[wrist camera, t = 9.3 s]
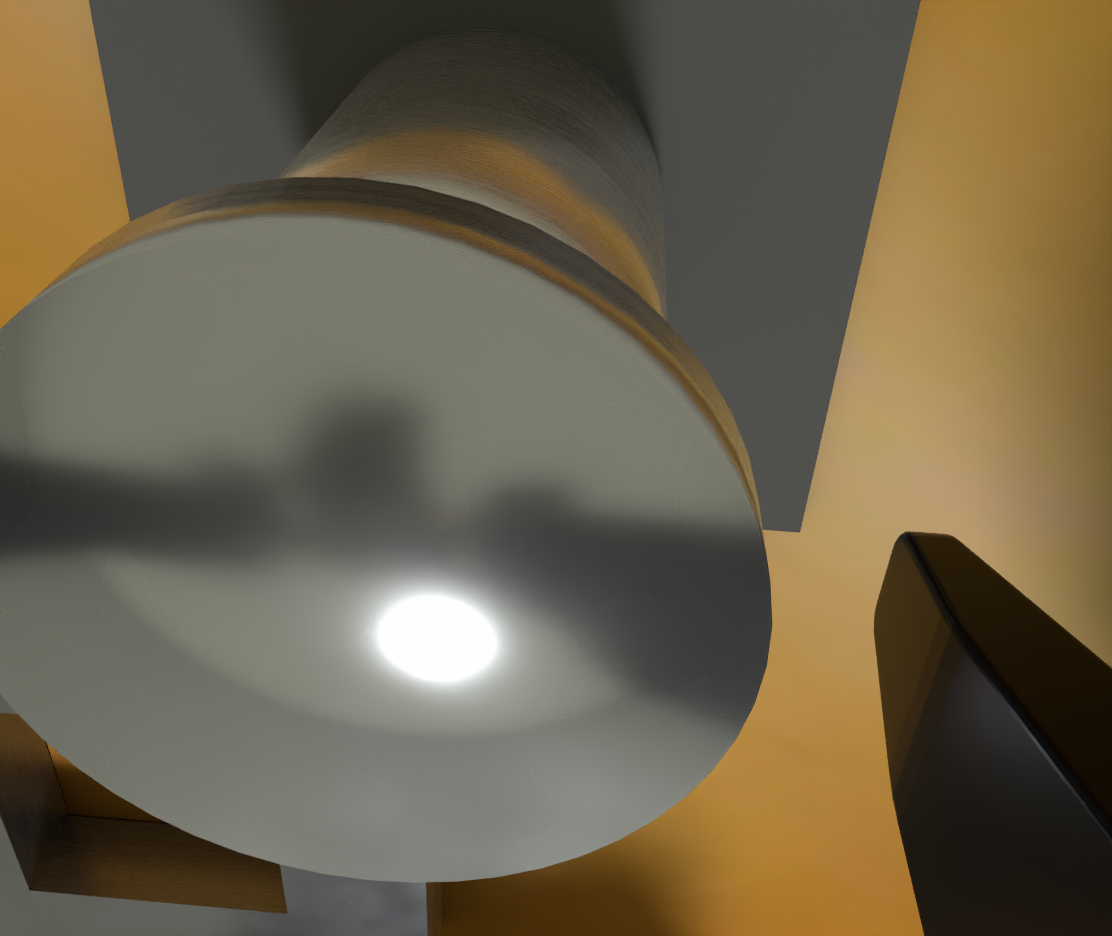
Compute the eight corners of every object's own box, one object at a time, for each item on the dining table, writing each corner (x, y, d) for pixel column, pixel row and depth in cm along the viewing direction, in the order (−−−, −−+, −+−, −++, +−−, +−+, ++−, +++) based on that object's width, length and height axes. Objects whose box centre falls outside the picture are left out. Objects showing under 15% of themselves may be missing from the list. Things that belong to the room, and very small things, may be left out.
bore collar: (435, 554, 20) (417, 627, 18) (442, 924, 27) (429, 1002, 25) (-189, 504, 20) (-264, 571, 19) (-25, 882, 27) (-68, 956, 25)
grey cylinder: (743, -14, 14) (856, 275, 6) (684, 410, 17) (709, 912, 10) (252, -47, 14) (-208, 193, 6) (295, 379, 17) (34, 847, 10)
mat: (961, -217, 13) (969, -216, 12) (797, 518, 19) (800, 532, 18) (53, -271, 13) (38, -271, 13) (187, 470, 19) (179, 482, 19)
